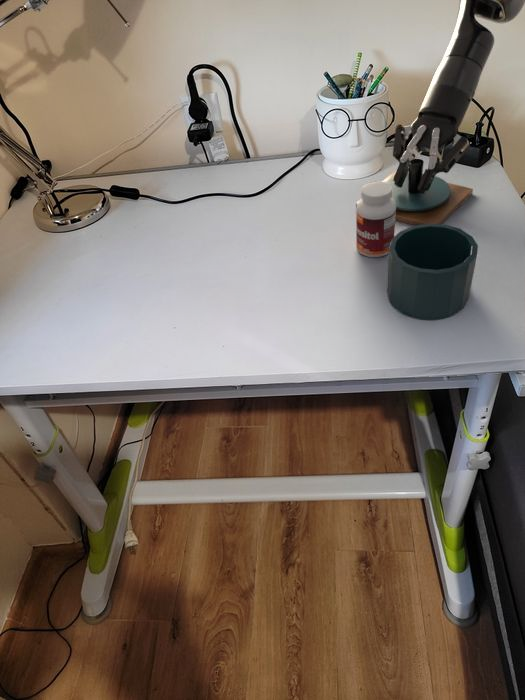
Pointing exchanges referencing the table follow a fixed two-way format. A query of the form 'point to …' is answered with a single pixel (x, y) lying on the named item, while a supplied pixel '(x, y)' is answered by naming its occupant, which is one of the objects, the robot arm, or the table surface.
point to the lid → (409, 195)
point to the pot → (430, 270)
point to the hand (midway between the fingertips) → (409, 188)
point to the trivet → (437, 213)
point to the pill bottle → (375, 219)
